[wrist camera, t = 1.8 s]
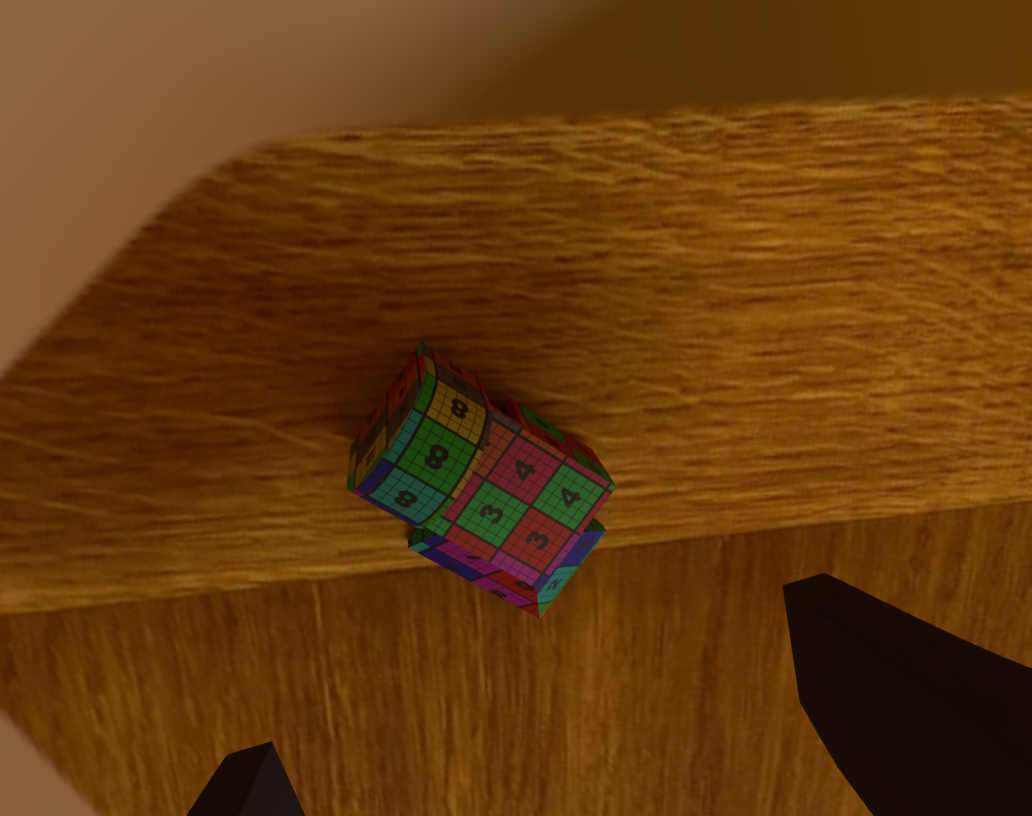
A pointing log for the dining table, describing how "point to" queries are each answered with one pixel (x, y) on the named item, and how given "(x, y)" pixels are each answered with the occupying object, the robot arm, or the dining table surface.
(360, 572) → the dining table surface
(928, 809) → the robot arm
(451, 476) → the block
